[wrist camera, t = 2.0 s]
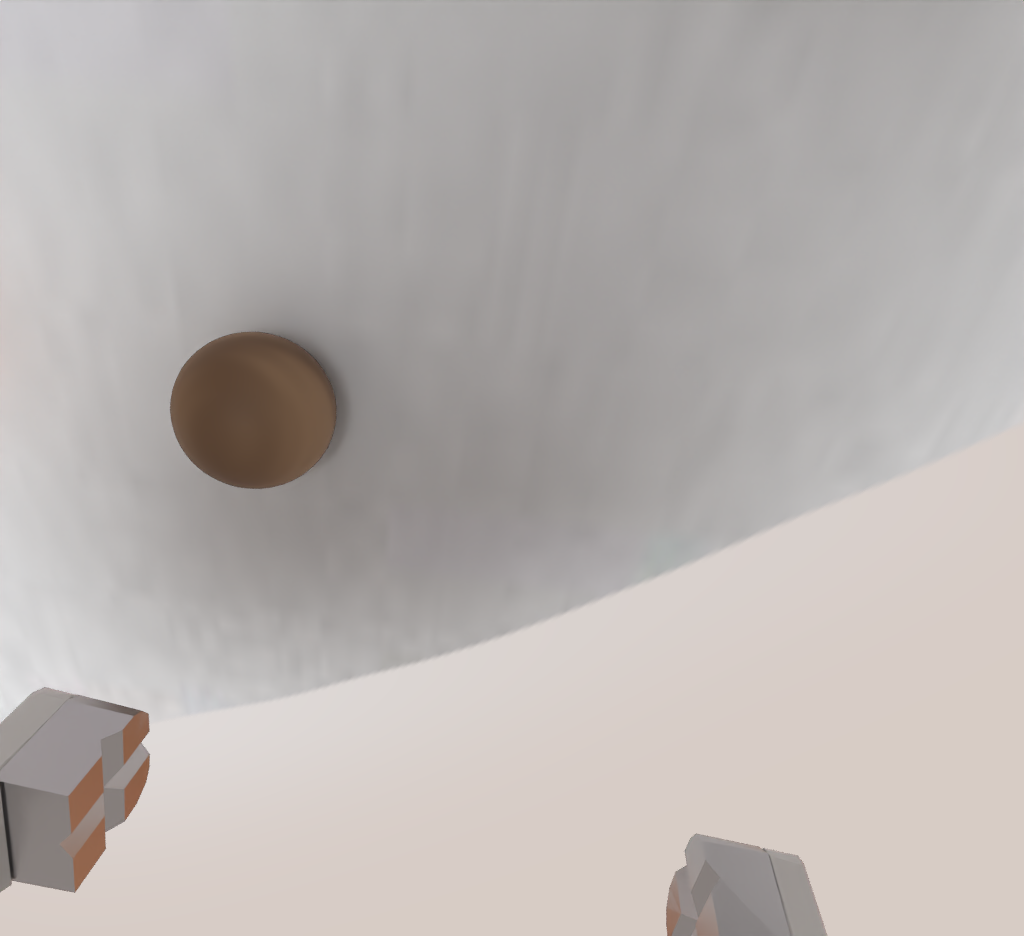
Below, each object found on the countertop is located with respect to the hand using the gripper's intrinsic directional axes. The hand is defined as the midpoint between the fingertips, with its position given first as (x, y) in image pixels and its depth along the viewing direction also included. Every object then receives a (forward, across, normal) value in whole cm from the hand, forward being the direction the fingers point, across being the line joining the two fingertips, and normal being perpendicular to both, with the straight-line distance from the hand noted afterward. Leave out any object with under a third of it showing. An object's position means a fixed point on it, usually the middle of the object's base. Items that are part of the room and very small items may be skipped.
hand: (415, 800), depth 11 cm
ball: (+13, +8, 0) cm, 16 cm away
